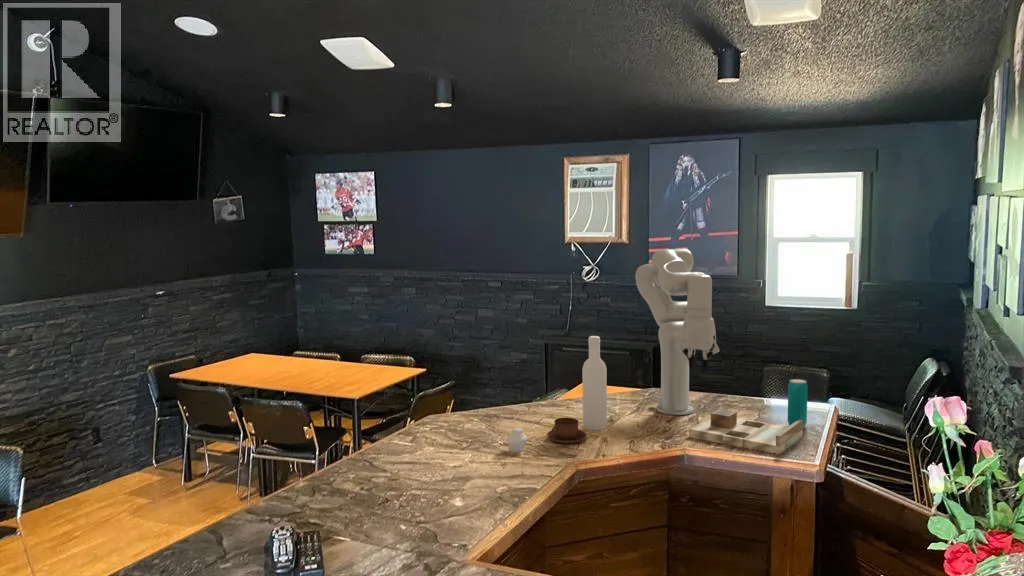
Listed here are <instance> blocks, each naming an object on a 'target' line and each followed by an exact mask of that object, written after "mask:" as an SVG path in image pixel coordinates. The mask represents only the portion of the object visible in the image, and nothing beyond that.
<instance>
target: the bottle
mask: <svg viewBox="0 0 1024 576" xmlns="http://www.w3.org/2000/svg"><path fill="white" fill-rule="evenodd" d="M587 341H588V342H587V343H588V359H586V360H585V361H584V363H583V365H582V374H581V375H582V428H583V429H584V430H586V431H594V432H599V431H604V430H606V429H607V427H608V415H607V414H608V413H607V412H608V410H607V409H608V398H607V397H608V395H607V394H608V392H607V391H608V390H607V386H608V385H607V383H608V382H607V375H608V373H607V370H608V369H607V365H606V363H605V362H604V360H603V359H602V358H601V337H600V336H598V335H590V336H589V337H588V340H587Z"/></svg>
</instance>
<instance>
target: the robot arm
mask: <svg viewBox="0 0 1024 576" xmlns="http://www.w3.org/2000/svg"><path fill="white" fill-rule="evenodd" d="M694 261H695V260H694V255H693V254H692V252H691V251H690V250H689V249H687V248H664V249H659V250H657V251H656V252H654V254H653V255H652V257H651V263H645V264H642V265H640V266H639V267H638V268H637V269H636V271H635V283H636V287H637V290H638V292H639V294H640V295H641V296H642V298H643V299H644V301H645V302H646V303H647V304H648V307H649V309H650V311H651V313H652V316H653V318H654V320H655V322H656V324H657V326H658V327H659V329H658V333H657V335H658V341H659V346H660V348H659V349H660V367H661V369H660V396H659V395H654V394H653V395H652V397H651V402H652V403H657V405H656V411H657V412H659V413H660V414H664V415H670V416H685V415H689V414H692V413H694V407H693V406H692V405H690V404H689V403H690V371H695V370H696V369H697V357H696V356H695V355H696V351H702V359H701V372H702V373H705V372H707V371H708V370H709V369H710V368H709V366H710V359H711V357H712V356H714V355H715V354H717V353H719V352H720V347H719V346H718V344H717V333H716V332H717V331H716V325H715V319H714V318H713V317H712V313H713V312H712V311H713V310H712V305H713V303H712V300H713V299H712V296H713V295H712V294H713V280H712V277H711V276H710V275H708V274H705V273H704V272H701V271H692V269H693V267H694V263H695V262H694ZM671 296H674V297H675V296H686V297H687V298H686V299H687V300H686V301H675V300H673V299H672V297H671ZM711 349H712V350H711Z"/></svg>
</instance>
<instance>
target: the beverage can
mask: <svg viewBox="0 0 1024 576" xmlns="http://www.w3.org/2000/svg"><path fill="white" fill-rule="evenodd" d="M807 383H808V381H807V380H806V379H800V378H793V379H792V378H791V379H789V382H788V385H787V389H788V390H787V423H788V427H789V426H790V425H791V424H793V423H794V422H796V421H797V420H798V419H800V420H803V429H804V428H805V427H806V424H807V421H808V420H807V419H808V390H809V389H808V387H809V386H808V384H807Z"/></svg>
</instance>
